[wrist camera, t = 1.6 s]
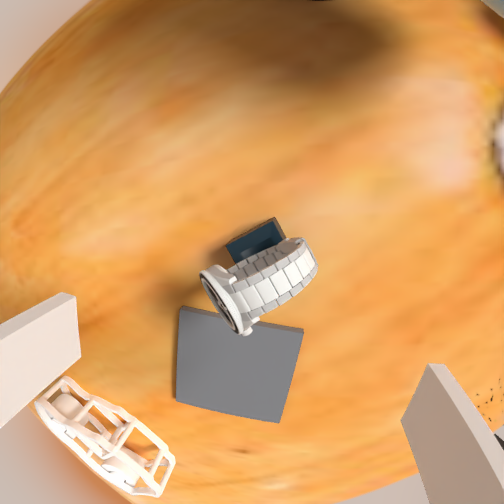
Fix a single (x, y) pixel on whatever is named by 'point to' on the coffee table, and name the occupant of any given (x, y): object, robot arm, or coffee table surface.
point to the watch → (259, 275)
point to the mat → (235, 365)
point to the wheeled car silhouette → (114, 452)
